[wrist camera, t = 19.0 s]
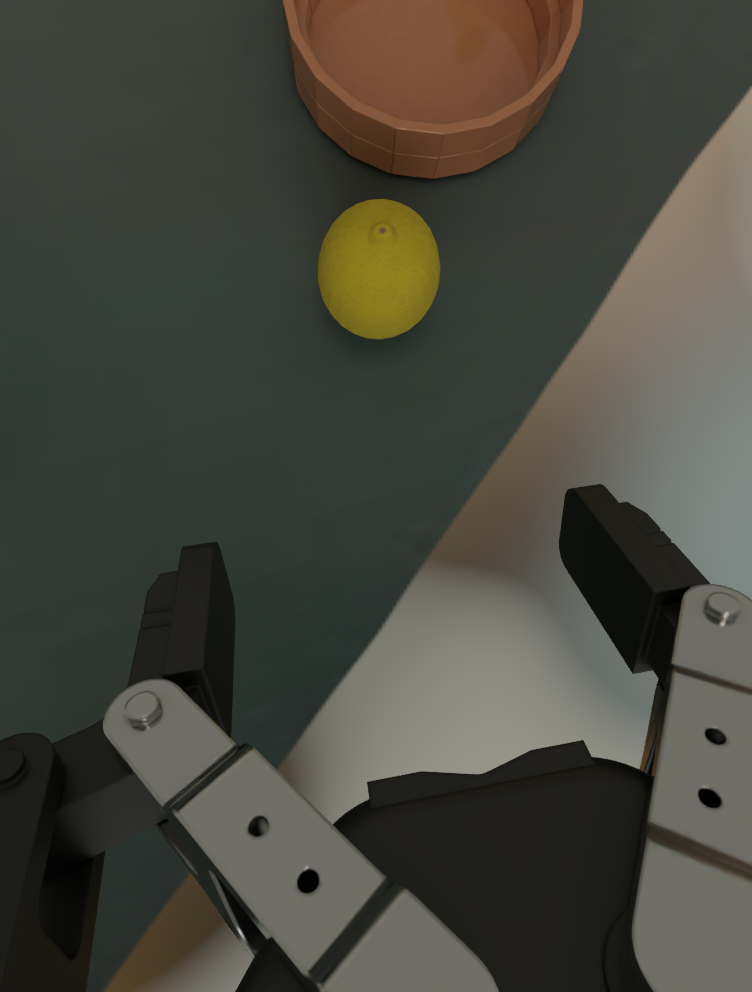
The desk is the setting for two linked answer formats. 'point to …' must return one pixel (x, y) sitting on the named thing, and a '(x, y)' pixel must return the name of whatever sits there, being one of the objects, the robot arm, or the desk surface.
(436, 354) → the desk surface
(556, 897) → the robot arm
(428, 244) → the lemon
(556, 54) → the pan
